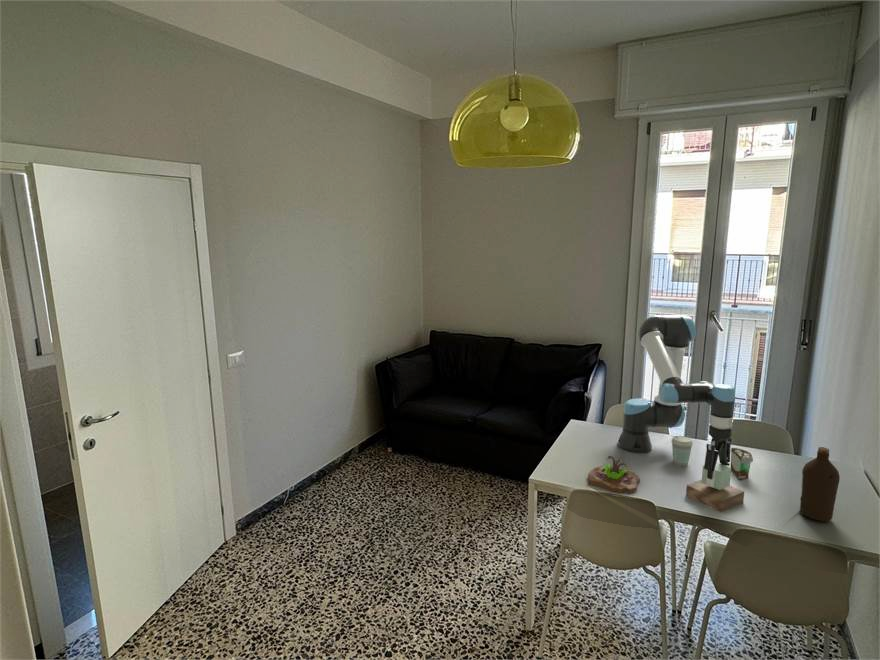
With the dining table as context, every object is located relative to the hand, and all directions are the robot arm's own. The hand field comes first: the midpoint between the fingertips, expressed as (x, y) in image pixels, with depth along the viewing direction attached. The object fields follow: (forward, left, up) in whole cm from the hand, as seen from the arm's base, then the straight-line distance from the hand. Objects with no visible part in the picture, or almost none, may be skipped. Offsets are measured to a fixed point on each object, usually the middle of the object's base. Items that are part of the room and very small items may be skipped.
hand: (715, 483), depth 191 cm
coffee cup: (-25, +19, -7) cm, 32 cm away
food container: (-4, +30, -7) cm, 31 cm away
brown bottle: (+26, +19, -7) cm, 33 cm away
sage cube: (0, 0, 0) cm, 0 cm away
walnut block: (0, 0, -7) cm, 7 cm away
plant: (-32, -19, -7) cm, 38 cm away
